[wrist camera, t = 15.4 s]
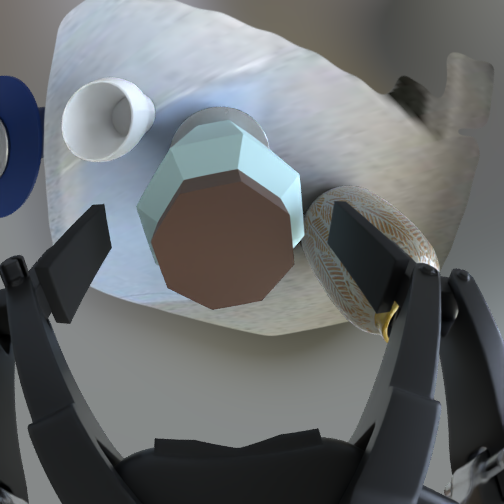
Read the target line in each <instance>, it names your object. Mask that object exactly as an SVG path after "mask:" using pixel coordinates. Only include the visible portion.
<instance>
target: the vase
mask: <svg viewBox="0 0 504 504" xmlns="http://www.w3.org/2000/svg"><path fill="white" fill-rule="evenodd" d="M334 201H346V202H347V203H348V204H350V205H351V206H352V207H353V208H354V209H355V210H357V211H358V212H359V213H360V214H361V215H362V216H364V217H365V218H366V219H367V220H368V221H369V222H370V223H372V224H373V225H374V226H375V227H376V228H377V229H378V230H379V231H381V232H382V233H383V234H384V235H385V236H386V237H387V238H388V239H390V240H392V241H394V242H395V243H396V244H397V245H398V246H399V247H400V248H402V249H403V250H404V251H405V253H407V254H408V255H409V256H410V257H411V258H412V259H413V260H414V261H415V262H416V263H425V264H429V265H431V266H433V267H434V268H436V269H437V270H438V271H439V273H440V269H439V263H438V259H437V256H436V253H435V251H434V249H433V247H432V246H431V244H430V243H429V241H428V240H427V238H426V237H425V236H424V234H423V233H422V232H421V231H420V230H419V229H418V227H417V226H416V225H415V224H414V223H413V222H412V221H411V220H409V219H408V218H407V217H406V216H405V215H404V214H403V213H402V212H400V211H399V210H398V209H397V208H396V207H394V206H393V205H392V204H391V203H389V202H388V201H386V200H385V199H383V198H382V197H380V196H379V195H377V194H375V193H373V192H371V191H369V190H367V189H365V188H362V187H358V186H340V187H336V188H333V189H330V190H328V191H326V192H324V193H323V194H321V195H320V196H319V197H317V198H316V199H315V200H314V201H313V203H312V204H311V205H310V207H309V208H308V210H307V212H306V214H305V216H304V219H303V223H304V236H303V238H302V239H301V243H302V248H303V251H304V254H305V256H306V259H307V261H308V263H309V265H310V267H311V269H312V271H313V272H314V274H315V276H316V278H317V279H318V281H319V283H320V284H321V286H322V287H323V289H324V291H325V292H326V294H327V295H328V297H329V298H330V300H331V301H332V302H333V304H334V305H335V306H336V307H337V309H338V310H339V311H340V312H341V313H342V314H343V315H344V316H345V318H346V319H347V320H348V321H349V322H350V323H352V324H353V325H354V326H356V327H357V328H359V329H361V330H363V331H365V332H368V333H371V334H377V335H382V338H383V339H384V340H385V342H387V343H388V341H389V337H390V334H391V330H392V326H390V325H391V323H392V321H393V319H394V316H395V314H396V312H397V309H398V307H399V306H398V304H397V303H396V302H395V301H394V304H393V306H392V309H391V311H390V312H386V313H379V314H376V312H375V311H374V309H373V308H372V306H371V305H370V303H369V302H368V300H367V299H366V297H365V296H364V294H363V293H362V291H361V290H360V288H359V287H358V285H357V284H356V283H355V281H354V280H353V278H352V277H351V275H350V274H349V273H348V271H347V270H346V268H345V267H344V266H343V264H342V263H341V261H340V260H339V259H338V257H337V256H336V254H335V253H334V252H333V250H332V249H331V248H330V246H329V245H328V244H327V241H328V236H329V230H330V225H331V219H332V213H333V206H334Z"/></svg>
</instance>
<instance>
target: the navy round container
mask: <svg viewBox="0 0 504 504" xmlns="http://www.w3.org/2000/svg"><path fill="white" fill-rule="evenodd" d="M224 120H230V121H231V122H233V123H234V124H236V125H237V126H239V127H240V128H242V129H243V130H245V131H246V132H248V133H249V134H250V135H252V136H253V137H255V138H256V139H257V140H258V141H260V142H261V143H262V144H264V145H265V146H266V147H267V148H268V149H269V144H268V140H267V137H266V135H265V133H264V131H263V129H262V128H261V126H260V125H259V124H258V123H257V122H256V121H255V120H254V119H253V118H252V117H250V116H249V115H248V114H246V113H244V112H242V111H240V110H237V109H234V108H229V107H212V108H207V109H204V110H201V111H199V112H197V113H195V114H193V115H192V116H190V117H189V118H187V119H186V120H185V121H184V122H183V123H182V124H181V125H180V127H179V128H178V129H177V131H176V132H175V134H174V137H173V139H172V142H171V145H170V148H171V147H172V146H174V145H175V144H176V143H177V142H178V141H179V140H181V139H182V138H183V137H184V136H185V135H186V134H188V133H189V132H190V131H191V130H193V129H194V128H195V127H196V126H198V125H203V124H208V123H213V122H218V121H224Z"/></svg>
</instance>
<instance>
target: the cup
mask: <svg viewBox="0 0 504 504" xmlns="http://www.w3.org/2000/svg"><path fill="white" fill-rule="evenodd" d="M154 120H155V107H154V104H153V102H152V100H151V99H150V98H149V97H148V96H146V95H144V94H143V93H142V91H141V90H140V89H139V88H138V87H137V86H136V85H135V84H133V83H131V82H129V81H127V80H124V79H121V78H114V77H107V78H101V79H97V80H95V81H92V82H90V83H88V84H86V85H84V86H82V87H81V88H80V89H78V90H77V91H76V92H75V93H74V94H73V95H72V97H71V98H70V99H69V101H68V102H67V104H66V107H65V109H64V111H63V116H62V121H61V128H62V135H63V139H64V142H65V144H66V145H67V147H68V149H69V150H70V151H71V152H72V153H73V154H74V155H75V156H77V157H78V158H80V159H82V160H86V161H91V162H107V161H112V160H114V159H117V158H120V157H121V156H123V155H125V154H126V153H128V152H129V151H130V150H132V149H133V148H134V147H135V146H136V145H137V144H138V143H139V141H140V140H141V138H142V136H143V135H144V134H145V133H146V132H147V131H148V130H149V129H150V128H151V126H152V125H153V123H154Z"/></svg>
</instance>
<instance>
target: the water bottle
mask: <svg viewBox="0 0 504 504" xmlns="http://www.w3.org/2000/svg"><path fill="white" fill-rule="evenodd" d="M136 207H137V210H138V214H139V217H140V220H141V223H142V226H143V229H144V232H145V235H146V238H147V241H148V244H149V247H150V249H151V252H152V255H153V258H154V260H155V263H156V264H157V265H159V266H160V269H161V272H162V274H163V277H164V280H165V282H166V285H167V288H169V289H171V290H173V291H175V292H177V293H179V294H181V295H183V296H185V297H187V298H189V299H191V300H193V301H195V302H197V303H199V304H201V305H203V306H205V307H208V308H210V309H212V310H214V309H219V308H225V307H231V306H236V305H242V304H247V303H252V302H257V301H262V300H263V299H264V298H265V297H266V295H267V294H268V293H269V292H270V291H271V290H272V289H273V288H274V287H275V285H276V284H277V283H278V282H279V281H280V280H281V279H282V278H283V277H284V275H285V274H286V273H287V272H288V271H289V270H290V269H291V267H292V266H293V265H294V254H293V248H294V247H295V246H296V245H297V244H298V242H299V241H300V240H301V239H302V238H303V236H304V223H303V210H302V198H301V187H300V176H299V174H298V173H297V172H296V171H295V170H294V169H293V168H291V167H290V166H289V165H288V164H287V163H285V162H284V161H283V160H282V159H281V158H279V157H278V156H277V155H276V154H275V153H273V152H272V151H271V150H270V149H268V148H267V147H266V146H265V145H264V144H262V143H261V142H260V141H258V140H257V139H256V138H255V137H253V136H252V135H250V134H249V133H248V132H246V131H245V130H243V129H242V128H240V127H239V126H237V125H236V124H234V123H233V122H231V121H230V120H224V121H218V122H213V123H208V124H203V125H198V126H196V127H195V128H194V129H193V130H191V131H190V132H189V133H188V134H186V135H185V136H184V137H183V138H182V139H181V140H179V141H178V142H177V143H176V144H175V145H174V146H172V147H171V148H170V150H169V151H168V153H167V154H166V156H165V158H164V159H163V161H162V162H161V164H160V166H159V167H158V169H157V171H156V172H155V174H154V176H153V178H152V179H151V181H150V183H149V185H148V186H147V188H146V190H145V192H144V193H143V195H142V197H141V199H140V201H139V203H138V204H137V206H136Z"/></svg>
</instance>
